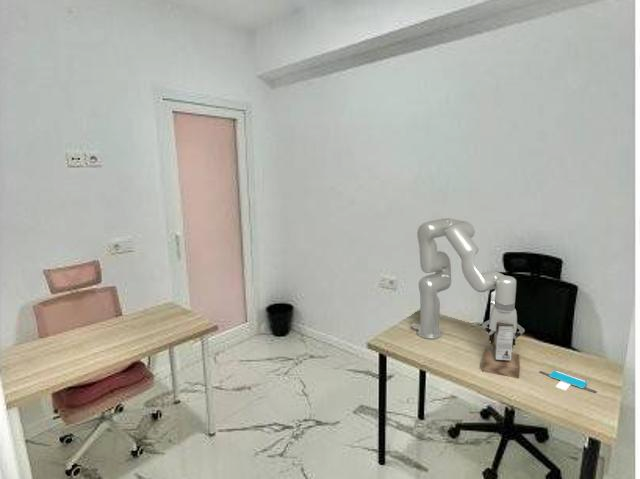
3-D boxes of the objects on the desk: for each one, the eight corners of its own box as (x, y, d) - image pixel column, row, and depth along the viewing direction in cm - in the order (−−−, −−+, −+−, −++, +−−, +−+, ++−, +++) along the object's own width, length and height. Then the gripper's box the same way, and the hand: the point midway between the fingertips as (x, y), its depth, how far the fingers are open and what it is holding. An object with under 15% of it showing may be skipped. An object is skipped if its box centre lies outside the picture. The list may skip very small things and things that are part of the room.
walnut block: (482, 372, 164) (482, 361, 163) (483, 358, 175) (484, 348, 174) (518, 379, 158) (519, 368, 157) (518, 364, 169) (519, 354, 168)
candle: (484, 333, 197) (486, 287, 191) (489, 328, 202) (491, 283, 196) (498, 337, 192) (501, 290, 187) (503, 332, 197) (506, 286, 192)
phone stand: (533, 379, 158) (533, 375, 158) (544, 368, 166) (544, 364, 165) (590, 401, 143) (591, 397, 143) (599, 387, 151) (600, 384, 150)
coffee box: (490, 348, 170) (492, 315, 167) (506, 349, 169) (508, 316, 165) (495, 359, 162) (498, 324, 158) (511, 361, 160) (514, 325, 157)
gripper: (481, 305, 161) (479, 344, 165) (528, 311, 153) (524, 352, 157) (482, 299, 167) (480, 336, 171) (527, 305, 160) (524, 343, 164)
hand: (501, 343), depth 164 cm, fingers closed on coffee box, 7 cm apart
